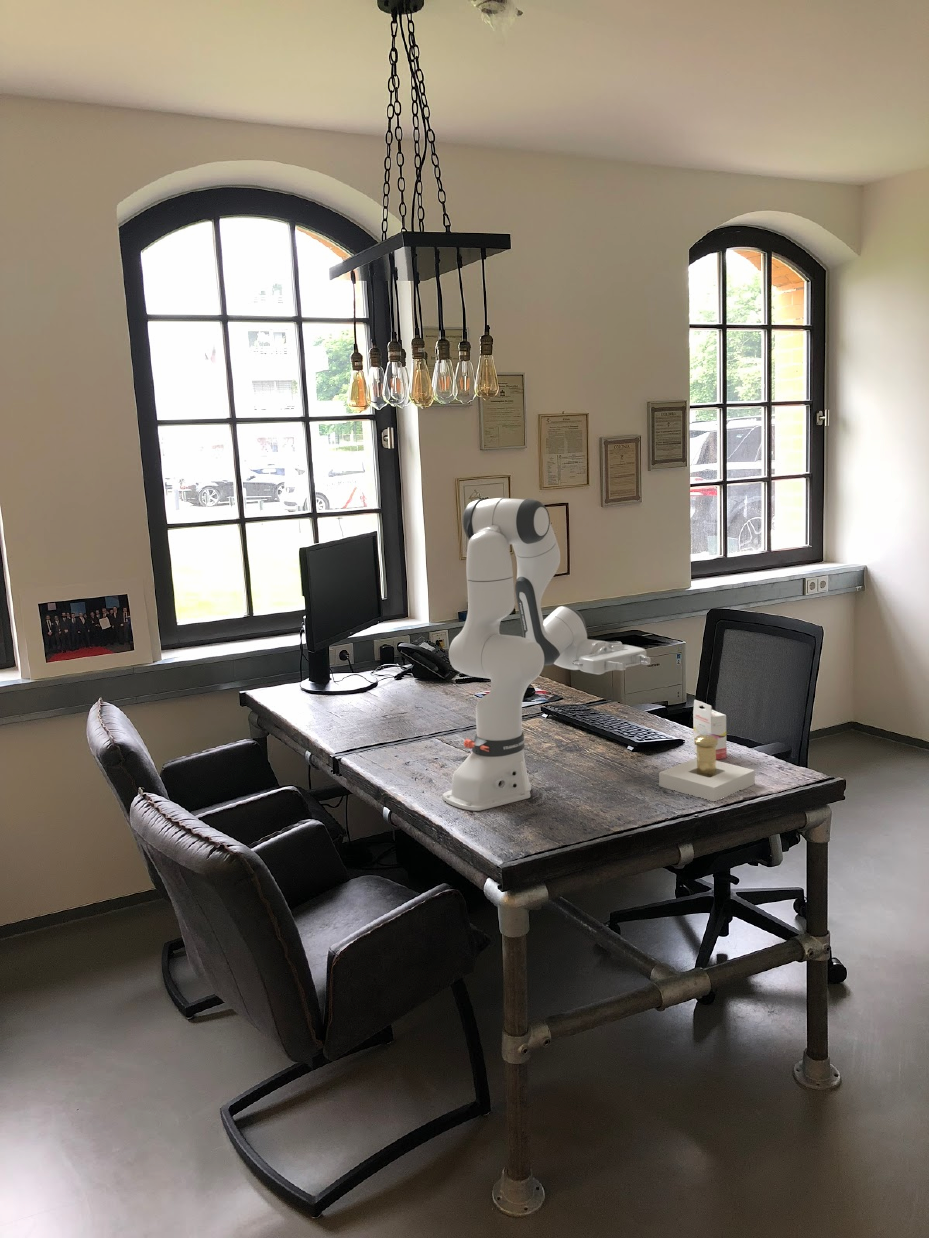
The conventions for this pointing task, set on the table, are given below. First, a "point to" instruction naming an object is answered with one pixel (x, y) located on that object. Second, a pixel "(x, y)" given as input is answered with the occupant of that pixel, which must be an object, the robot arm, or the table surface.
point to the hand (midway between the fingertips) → (636, 664)
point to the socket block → (707, 780)
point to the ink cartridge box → (710, 726)
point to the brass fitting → (706, 755)
